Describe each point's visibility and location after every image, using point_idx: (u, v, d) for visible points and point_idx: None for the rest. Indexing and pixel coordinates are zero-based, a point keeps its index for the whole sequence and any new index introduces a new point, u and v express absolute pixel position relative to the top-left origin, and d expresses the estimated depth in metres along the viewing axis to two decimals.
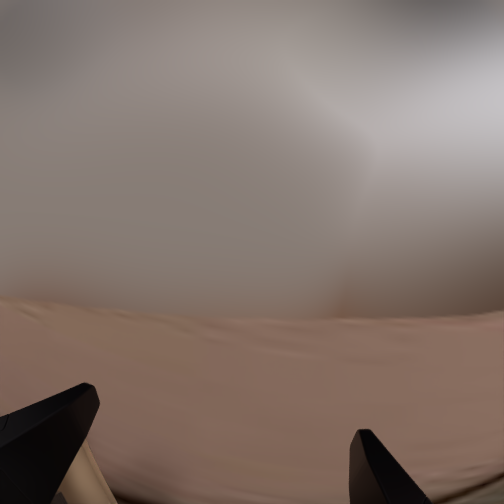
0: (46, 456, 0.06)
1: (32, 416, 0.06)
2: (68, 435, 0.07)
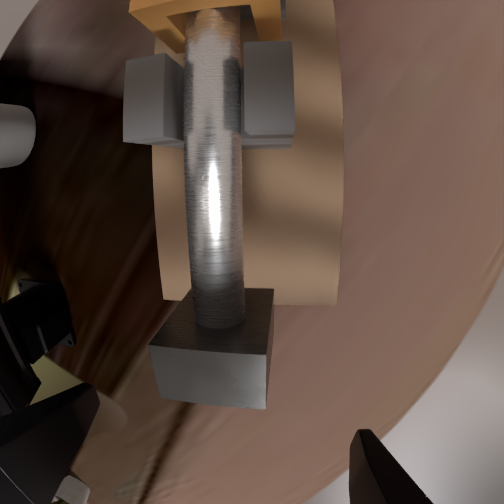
0: (46, 456, 0.06)
1: (33, 416, 0.06)
2: (68, 435, 0.07)
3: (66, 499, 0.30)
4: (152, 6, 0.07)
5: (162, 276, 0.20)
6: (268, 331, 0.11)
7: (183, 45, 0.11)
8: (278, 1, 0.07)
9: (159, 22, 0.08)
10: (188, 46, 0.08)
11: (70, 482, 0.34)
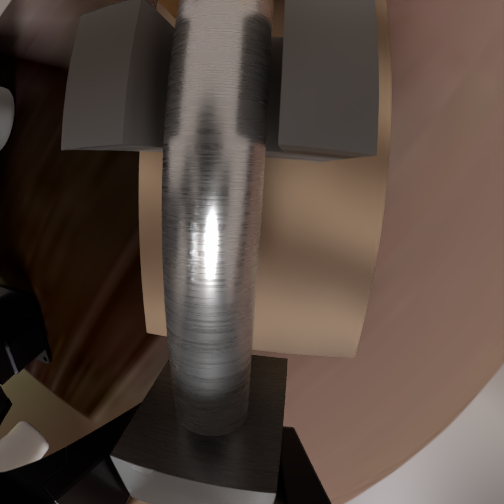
0: (111, 488, 0.06)
1: (94, 446, 0.06)
2: None
3: None
4: None
5: (146, 306, 0.16)
6: (279, 445, 0.06)
7: None
8: None
9: None
10: None
11: None
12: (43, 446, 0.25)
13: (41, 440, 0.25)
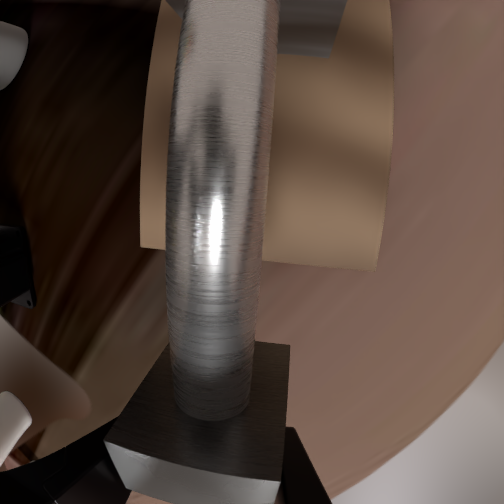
0: (110, 488, 0.06)
1: (93, 446, 0.06)
2: None
3: None
4: None
5: (142, 214, 0.15)
6: (283, 431, 0.06)
7: None
8: None
9: None
10: None
11: None
12: (25, 419, 0.23)
13: (24, 412, 0.24)
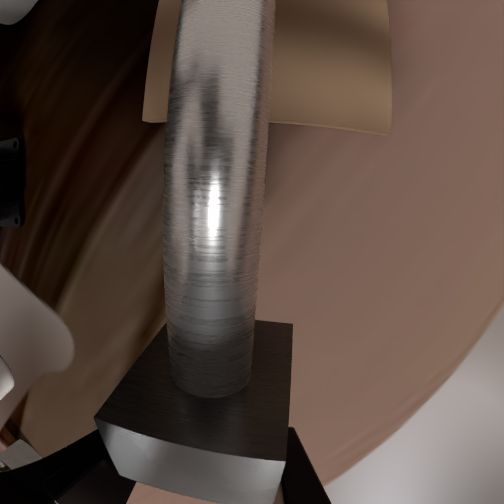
0: (111, 488, 0.06)
1: (94, 446, 0.06)
2: None
3: (11, 466, 0.23)
4: None
5: (147, 88, 0.13)
6: (287, 409, 0.06)
7: None
8: None
9: None
10: None
11: (19, 446, 0.27)
12: (7, 379, 0.22)
13: (5, 370, 0.22)
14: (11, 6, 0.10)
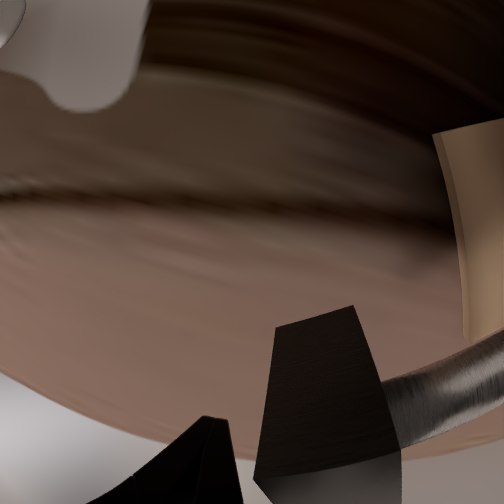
0: None
1: (162, 470, 0.06)
2: None
3: None
4: None
5: (467, 129, 0.11)
6: None
7: None
8: None
9: None
10: None
11: None
12: None
13: (8, 32, 0.12)
14: None
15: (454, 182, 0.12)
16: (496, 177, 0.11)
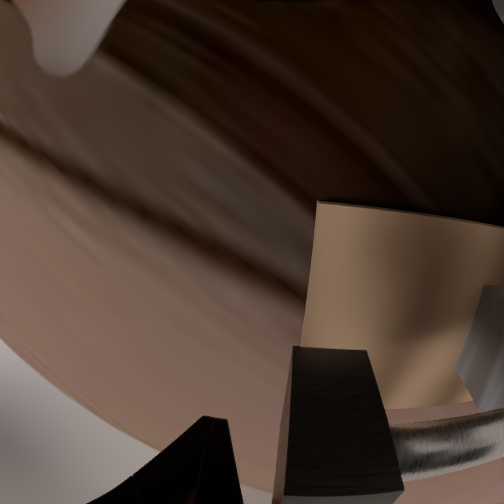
0: None
1: (162, 470, 0.06)
2: None
3: None
4: None
5: (356, 209, 0.13)
6: None
7: None
8: None
9: None
10: None
11: None
12: None
13: None
14: None
15: (314, 256, 0.14)
16: (373, 270, 0.14)
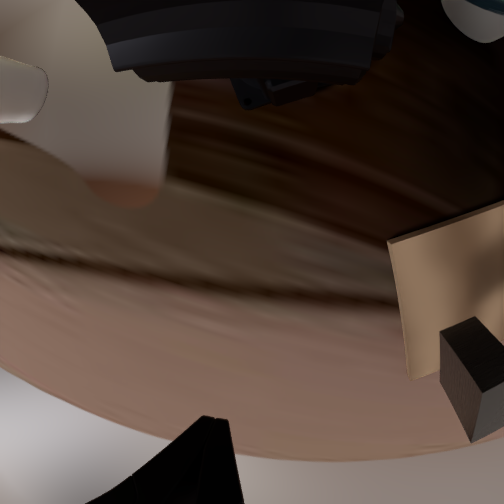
0: None
1: (161, 470, 0.06)
2: (197, 480, 0.06)
3: None
4: None
5: (414, 238, 0.18)
6: None
7: None
8: None
9: None
10: None
11: None
12: (27, 116, 0.18)
13: (35, 110, 0.18)
14: (471, 20, 0.11)
15: (398, 278, 0.18)
16: (435, 270, 0.18)
